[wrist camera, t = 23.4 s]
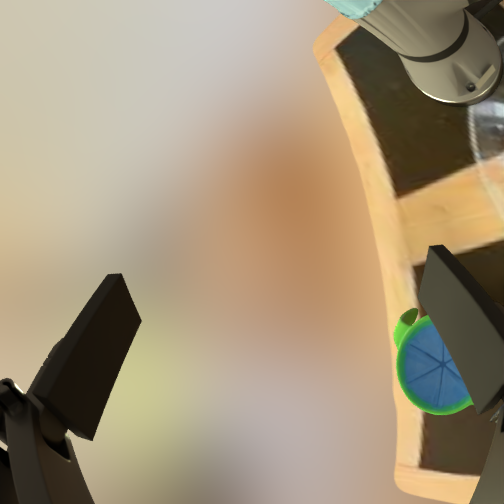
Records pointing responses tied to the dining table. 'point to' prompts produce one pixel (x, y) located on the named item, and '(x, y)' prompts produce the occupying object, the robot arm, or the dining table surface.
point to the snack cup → (427, 367)
